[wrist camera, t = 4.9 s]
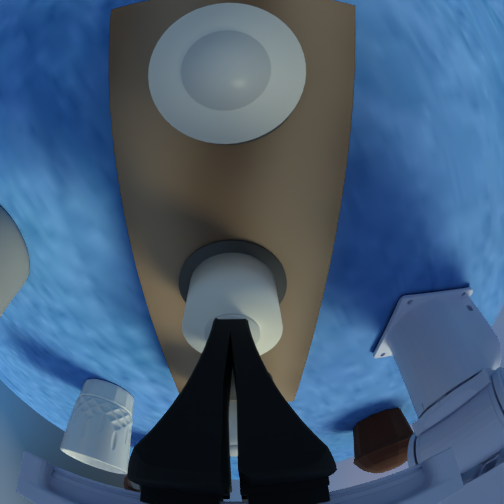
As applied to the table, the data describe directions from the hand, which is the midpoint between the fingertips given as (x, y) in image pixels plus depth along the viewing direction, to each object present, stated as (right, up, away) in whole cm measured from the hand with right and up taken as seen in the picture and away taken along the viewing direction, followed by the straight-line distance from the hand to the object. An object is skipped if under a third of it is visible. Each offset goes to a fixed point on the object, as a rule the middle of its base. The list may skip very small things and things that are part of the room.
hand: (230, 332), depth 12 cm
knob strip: (0, +3, +5) cm, 6 cm away
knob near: (0, +10, -3) cm, 10 cm away
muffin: (+22, -25, +25) cm, 42 cm away
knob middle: (0, +2, +3) cm, 3 cm away
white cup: (-17, -14, +15) cm, 26 cm away
